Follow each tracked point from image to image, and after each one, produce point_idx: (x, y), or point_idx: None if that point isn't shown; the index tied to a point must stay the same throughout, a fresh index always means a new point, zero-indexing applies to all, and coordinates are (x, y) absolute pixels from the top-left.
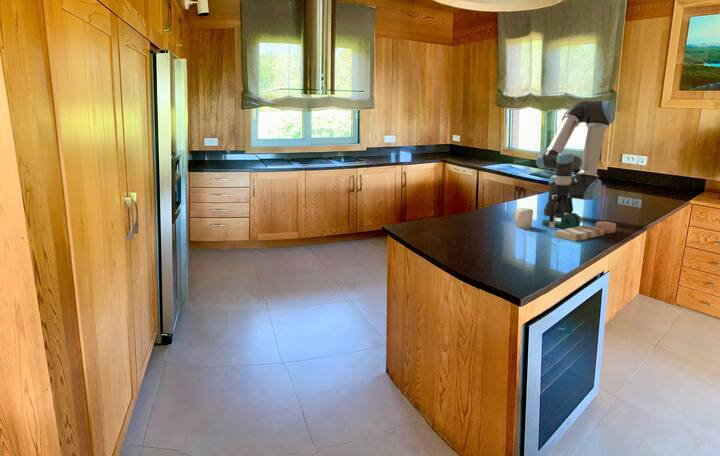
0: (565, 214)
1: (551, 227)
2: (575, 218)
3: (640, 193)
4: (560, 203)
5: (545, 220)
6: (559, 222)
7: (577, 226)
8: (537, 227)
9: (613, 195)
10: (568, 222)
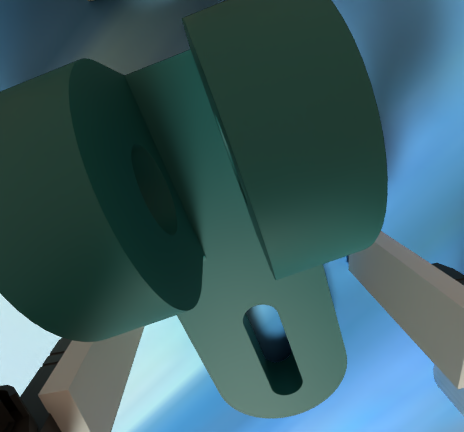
0: (104, 405)
1: None
2: (107, 124)
3: None
4: None
5: (285, 404)
6: (224, 307)
7: (130, 77)
8: None
9: None
10: (183, 217)
